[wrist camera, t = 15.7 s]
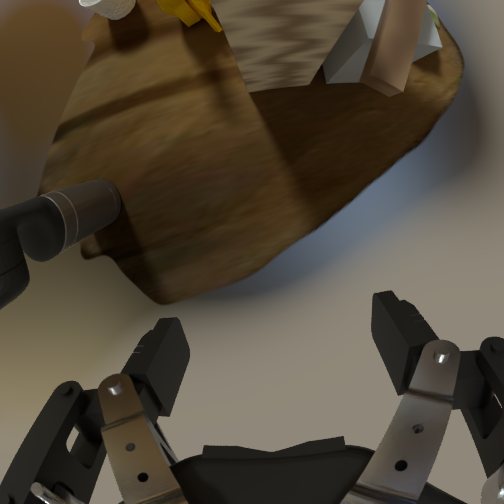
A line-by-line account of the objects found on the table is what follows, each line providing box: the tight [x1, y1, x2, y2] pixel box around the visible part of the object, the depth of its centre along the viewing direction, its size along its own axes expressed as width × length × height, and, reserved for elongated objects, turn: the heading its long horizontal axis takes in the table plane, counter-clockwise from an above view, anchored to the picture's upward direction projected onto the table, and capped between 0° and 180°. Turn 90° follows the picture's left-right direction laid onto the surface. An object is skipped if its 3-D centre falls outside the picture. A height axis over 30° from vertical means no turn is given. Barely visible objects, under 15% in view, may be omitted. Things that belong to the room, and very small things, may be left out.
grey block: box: [322, 0, 442, 84], centre depth 26 cm, size 9×18×22 cm, turn 9°
